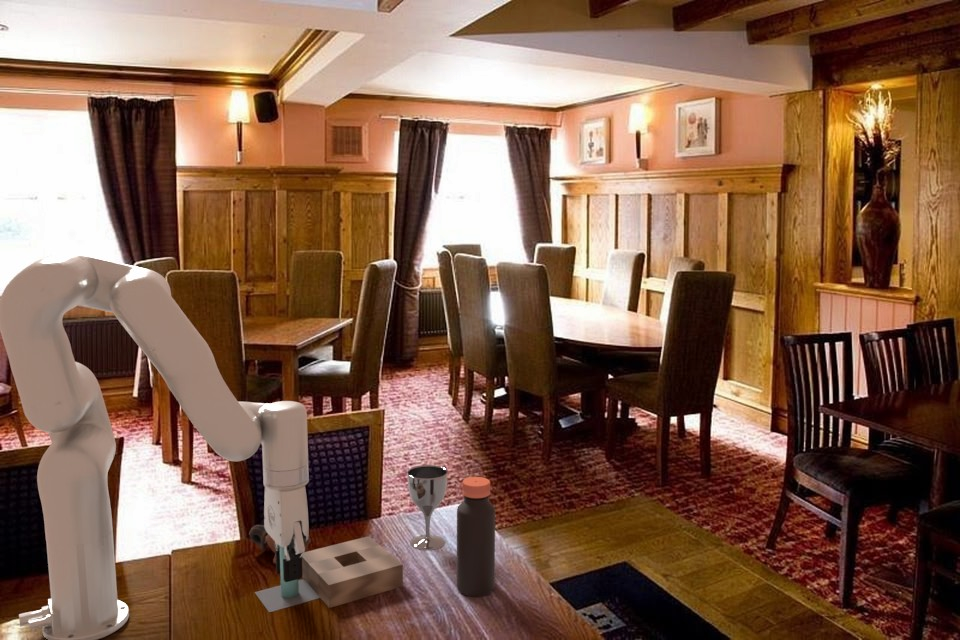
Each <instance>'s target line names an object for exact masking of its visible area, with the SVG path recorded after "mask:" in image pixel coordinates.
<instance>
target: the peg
mask: <svg viewBox="0 0 960 640" xmlns="http://www.w3.org/2000/svg"><path fill="white" fill-rule="evenodd" d="M291 540H294V539H291ZM294 547H295V545H294V546H290V547H289V549H290V550H291V549H292V548H294ZM283 559H285V552H284V547H281V546H280V573H279V574H280V575H279V576H280V585H281V596H282V597H283V598H294V597H296V596H298V594H299V584H298V580H299V579H297V580H293V581H289V582H285V581H284V577H283Z"/></svg>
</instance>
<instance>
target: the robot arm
mask: <svg viewBox="0 0 960 640" xmlns="http://www.w3.org/2000/svg"><path fill="white" fill-rule="evenodd" d="M77 306H78V307H83V308H89V309H94V310H98V311H102V312H103V311H104V312H108V313H113V315H114V316H115V317H116V319H117V320H118V322H119V323H120V325H121V326H122V327H123V328H124V330H125V331H126V332H127V333H128V334H129V336H130V337H131V338H132V340H133V341H134V342H135V343H136V345H137V346H138V347H139V348H140V350H141V352H143V354H144V355H145V356H146V357H147V358H148V360H149V361H150V363H151V364H152V365H153V366H154V367H155V369H156V370H157V372H158V373H159V374H160V376H161V377H162V378H163V381H165V384H166V386H167V388H168V389H169V391H170V392H171V393H172V395H173V396H174V398H175V399H176V401H177V402H178V404H179V405H180V407H181V409H182V410H183V412H184V413H185V415H186V416H187V418H188V419H189V421H190V422H191V423H192V425H193V427H195V429H196V430H197V432H198V433H199V434H200V435H201V436H202V437H203V439H204V441H206V443H207V444H208V445H209V446H210V447H211V449H212V450H213V451H214V452H215V453H216V454H217V455H218V456H220V457H221V458H222V459H225V460H227V461H229V462H241V461H246V460H247V459H249V458H251V457H253V455H255V453H257V451H258V449H259V448H260V446H261V448H262V449H261V450H262V452H261V453H262V476H263V477H262V478H263V482H262V483H263V487H264V497H263V499H264V501H263V502H264V506H263V515H264V516H263V517H264V518H263V522H264V523H263V525H264V527H265V530H266V532H267V533H268V534H269V535H270V536H271V538H272V539H273V540H274V541H275V548H276V550H279V551H276V564H275V567H276V568H275V571H276V573H277V574H280V546H281V547H284V552H285V559H283V577H284V581H285V582H289V581H293V580H297V579H298V580H301V579H303V578H302V576H303V574H302V556H303V555H302V553H304V552H306V550H305V547H304V542H306V541H307V540H308V536H309V537H310V535H309V533H310V532H309V530H310V529H309V527H310V526H309V511H308V510H309V509H308V499H307V492H306V491H307V490H306V485H308V483H309V482H310V479H309V448H308V447H309V445H308V444H309V443H308V441H309V440H308V416H307V415H308V413H307V409H306V407H305V405H304V404H303V403H301V402H298V401H293V400H281V401H275V402H272V403H271V402H270V403H268V402H266V403H264V402H252V401H238V400H237V398H236V397H235V395H234V394H233V392H232V391H231V389H230V388H229V386H228V385H227V383H226V382H225V380H224V379H223V376H222V374H221V373H220V369H219V368H218V366H217V363H216V362H217V361H216V360H215V357H214V353H213V352H212V350H211V347H210V346H209V343H208V342H207V341H206V340H205V339H204V337H203V336H202V335H201V334H200V333H199V331H198V329H197V328H196V327H195V326H194V324H193V323H192V322H191V320H190V319H189V318H188V317H187V315H186V314H185V313H184V312H183V310H182V309H181V308H180V306H179V304H178V303H177V302H176V300H175V299H174V298H173V296H172V292H171V287H170V284H169V282H168V281H167V279H166V278H165V277H164V276H163V275H161V274H160V273H159V272H156V270H155V271H154V270H152V269H149V268H145V267H139V266H135V265H130V264H127V263H126V264H125V263H121V262H117V261H112V260H108V259H103V258H100V257H95V256H91V255H88V254H87V255H86V254H82V253H77V252H61V253H57V254H53V255H50V256H46V257H43V258H40V259H38V260H35V261H34V262H33V263H30V264H29V265H28V266H26V267H24V268H23V269H22V270H20V271H19V272H18V273H16V275H15V276H14V277H13V278H12V279H11V280H10V281H9V282H8V284H6V286H5V287H4V290H3V292H2V293H1V295H0V335H1V338H2V341H3V345H4V348H5V351H6V354H7V357H8V362H9V366H10V369H11V372H12V376H13V378H14V379H13V380H14V382H15V385H16V389H17V392H18V395H19V399H20V402H21V408H22V409H23V413H24V416H25V418H26V419H27V420H28V422H29V423H30V424H31V425H32V427H34V428H36V429H37V430H39V431H41V432H44V433H48V435H49V436H48V437H49V438H50V442H51V444H50V445H49V446H48V447H47V449H46V451H45V452H44V453H43V455H42V457H41V459H40V461H39V464H38V469H37V475H36V482H37V490H38V495H39V499H40V503H41V508H42V514H43V521H44V522H43V523H44V533H45V541H46V554H47V564H48V565H47V567H48V579H49V590H50V598H48V599H47V605H44V606H41V609H38V610H37V609H36V610H33V611H28V612H27V611H26V612H22V613H19V614H18V618H19V627H20V628H22V627H24V626H28V627H29V631H32V630H35V629H36V630H37V629H40V628H42V635H43V638H44V639H45V638H46V639H48V640H99V639H103V638H106V637H107V636H109V635H111V634H114V633H115V632H116V631H118V630H120V629H121V628H122V627H123V626H124V625H125V624H126V623H127V622H128V619H129V617H130V609H129V606H128V604H126V603H125V602H123V601H121V600H119V599H118V590H117V589H118V588H117V574H116V573H117V572H116V557H115V546H114V532H113V531H114V530H113V528H114V527H113V518H112V508H111V500H110V494H109V487H108V485H109V484H108V475H109V474H108V472H109V470H110V468H111V465H112V463H113V460H114V459H115V454H116V448H117V444H116V439H115V434H114V433H115V432H114V430H113V427H112V423H111V420H110V416H109V413H108V410H107V407H106V402H105V400H104V397H103V393H102V390H101V386H100V383H99V381H98V379H97V378H96V376H95V374H94V373H93V372H92V370H91V369H89V367H87V366H86V365H84V364H82V363H80V362H78V361H76V360H75V357H74V354H73V351H72V346H71V343H70V340H69V337H68V334H67V332H66V330H65V327H64V324H63V318H64V315H65V314H66V313H67V312H68V311H71V310H72V309H74V308H77ZM291 539H294V540H291ZM294 545H295V547H294V548H292V549H291V550H290V549H289V547H290V546H294ZM46 639H45V640H46Z"/></svg>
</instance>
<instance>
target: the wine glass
mask: <svg viewBox="0 0 960 640" xmlns="http://www.w3.org/2000/svg"><path fill="white" fill-rule="evenodd" d="M407 486H408V492H409V497H410V499H411V501H412V503H414V505H415V506H417V508H418V509H419V510H420V512H421V513H422V514H423V517H424V523H425V534H423V535H422V534H421V535H417V536H416V537H413V538H412V539H411V540H410V542H409V543H410V546H411V547H412V548H413V549H416V550H422V551H433V550H434V551H435V550H437V549H440V548H442V547H444V546H445V545H444V544H446V540H445V539H444V538H443V537H441V536H440V535H436V534H431V531H430V528H431V520H432V519H431V518H432V516H433V513H434V511H435V510H437V508H438V506H439V505H440V504H441V503H442V502H443V500H444V499H445V496H446V491H447V486H448V469H446V468H445V467H443V466H440V465H435V464H423V465H415V466H413V467H411V468H409V469H408V470H407Z"/></svg>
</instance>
